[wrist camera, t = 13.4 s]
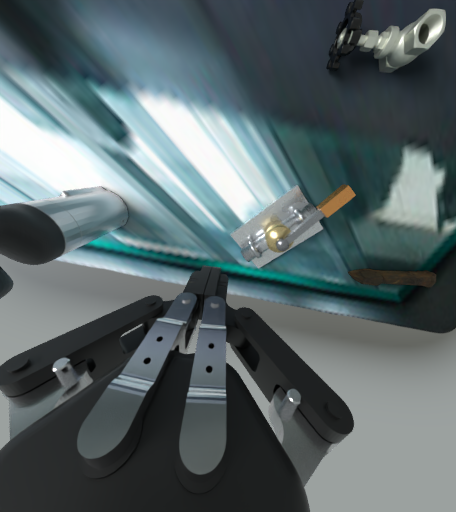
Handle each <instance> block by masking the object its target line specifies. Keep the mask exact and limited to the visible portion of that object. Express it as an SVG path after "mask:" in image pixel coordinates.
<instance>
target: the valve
mask: <svg viewBox="0 0 456 512" xmlns="http://www.w3.org/2000/svg"><path fill="white" fill-rule="evenodd" d="M363 2H364V0H354V2H350V3H349V4H348V6H347V9H346V12H345V18H344V20H343V22H340V23H339V25H338V27H337V30H336V34H337V36H336V39H335V42H334V44H332V46H331V48H330V51H329V55H331V58H330V60H329V61H328V64H327V69H329V70H335V71H336V70H337V69H338V68H339V65H340V63H337V62H338V60H339V58H340V57H341V56H346V55H348V54H350V53H351V52H352V51H353V50H354V49H355V47H356V46H360V51H364V52H369V51H370V50H371V49H372V48H373V53H374V58H375V59H379V72H386V73H392V72H393V71H395V70H396V69H398V68H399V67H402V66H404V65H407V64H408V63H410V62H411V61H413V60H414V59H415V58H416V57H417V56H418V55H420V54H421V53H423V52H424V51H426V50H428V49H429V48H430V47H431V46H432V45H433V43H434V42H435V41H436V40H437V39H438V38H439V37H440V36H441V34H442V33H443V32H444V29H445V22H446V13H445V11H444V10H441V9H429V10H428V11H427V12H426V13H425V14H424V15H422V16H421V17H420V18H419V19H418V20H417V21H416V22H414V23H412V24H410V25H408V26H407V27H405V28H404V29H403V30H402V31H399V27H398V26H390V27H388V28H387V29H386V31H385V32H383V33H381V34H380V35H379V36H378V31H373V30H369V31H368V32H367V33H366V34H365V35H361V34H362V29H360V26H361V23H362V16H361V14H360V13H358V12H356V11H357V9H359V10H360V9H361V8H362V5H363ZM347 24H348V26H347ZM346 26H347V28H346ZM337 51H338V52H337Z"/></svg>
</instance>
